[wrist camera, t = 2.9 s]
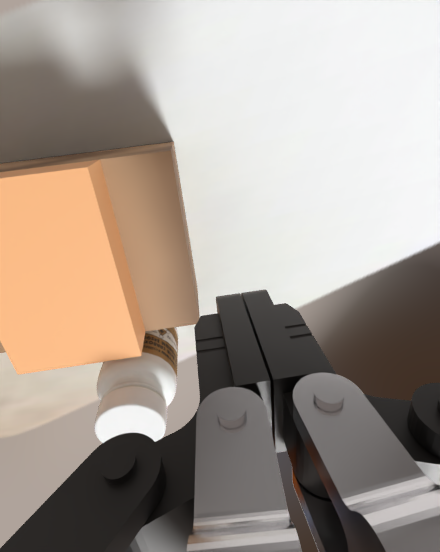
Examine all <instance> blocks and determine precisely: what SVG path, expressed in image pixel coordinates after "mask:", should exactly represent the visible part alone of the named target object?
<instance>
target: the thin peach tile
mask: <svg viewBox="0 0 440 552" xmlns="http://www.w3.org/2000/svg"><path fill="white" fill-rule="evenodd" d="M144 337H145V328H144V324H143V320H142V317H141V313H140V309H139V305H138V301H137V298H136V294H135V290H134V286H133V283H132V279H131V275H130V271H129V268H128V264H127V260H126V256H125V252H124V249H123V245H122V241H121V237H120V234H119V230H118V226H117V222H116V219H115V215H114V211H113V207H112V204H111V200H110V196H109V192H108V188H107V185H106V181H105V177H104V173H103V170H102V166H101V162H100V160H92V161H84V162H76V163H69V164H61V165H53V166H45V167H37V168H29V169H21V170H14V171H6V172H0V342H1V343H2V345H3V347H4V349H5V351H6V353H7V355H8V357H9V359H10V360H11V362H12V364H13V366H14V368H15V370H16V372H17V374H25V373H31V372H38V371H45V370H51V369H58V368H65V367H71V366H78V365H85V364H91V363H98V362H105V361H111V360H118V359H125V358H131V357H138V356H141V355H142V349H143V343H144Z"/></svg>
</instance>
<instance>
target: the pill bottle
mask: <svg viewBox="0 0 440 552" xmlns="http://www.w3.org/2000/svg"><path fill="white" fill-rule="evenodd" d="M177 352H178V333H177V328H176V327H173V328H166V329H159V330H152V331H145V337H144V343H143V349H142V355H141V356H138V357H131V358H125V359H118V360H111V361H105V362H103V365H102V367H101V370H100V373H99V377H98V381H97V394H98V397H99V399H100V401H101V402H100V405H99V408H98V412H97V416H96V420H95V428H94V429H95V433H96V436H97V437H98V439H99V440H100V441H101V442H102V443H104V442H105V441H107V440H109V439H111V438H112V437H115V436H117V435H120V434H124V433H141V434H144V435H147V436H149V437H150V438H151V439H153V440H154V442H156V441H158V440H160V439H161V438H162V437H163V435H164V433H165V430H166V422H167V406H168V405H169V404H170V403H171V401H172V400H173V398H174V396H175V392H176V386H177V385H176V384H177Z"/></svg>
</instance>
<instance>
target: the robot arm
mask: <svg viewBox="0 0 440 552" xmlns="http://www.w3.org/2000/svg"><path fill="white" fill-rule="evenodd" d="M216 304H217V312H218V314H211V315H205V316H201V317H200V318H199V320H198V322H197V324H196V326H195V340H196V352H197V364H198V377H199V389H200V403H199V407H198V409H197V412H196V413H195V415H194V417H193V418H192V419H191V420H190V421H189V422H188V423H187V424H186V425H185V426H184V427H182V428H181V429H180V430H178V431H176V432H174V433H172V434H170V435H168V436H166V437H164V438H162V439H160V440H158V441H156V442H154V440H153V439H151V438H150V437H149V436H147V435H144V434H141V433H124V434H120V435H117V436H115V437H112V438H111V439H109V440H107V441H105V442H104V443H103V444H101V445H100V446H99V447H98V448H97V449H96V450H94V451H93V452H92V453H91V455H90V456H89V457H88V458H87V459H86V460H85V461H84V462H83V463H82V464H81V465H80V466H79V467H78V468H77V469H76V470H75V471H74V472H73V473H72V474H71V475H70V477H69V478H67V480H66V481H65V482H64V483H63V484H62V485H61V486H60V487H59V488H58V489H57V490H56V491H55V492H54V493H53V494H52V495H51V496H50V497H49V498H48V499H47V501H45V503H43V505H42V506H41V507H40V508H39V509H38V510H37V511H36V512H35V513H34V514H33V515H32V516H31V517H30V518H29V519H28V520H27V521H26V522H25V524H23V525H22V526H21V527H20V528H19V530H18V531H17V532H16V533H15V534H14V535H13V536H12V537H11V538H10V539H9V540H8V541H7V542H6V543H5V544H4V545H3V546H2V547H1V548H0V552H302V550H301V546H300V543H299V538H298V535H297V531H296V528H295V526H294V524H293V523H292V522H291V520H290V517H289V513H288V509H287V504H286V499H285V495H284V490H283V485H282V480H281V475H280V471H279V466H278V460H277V456H276V453H278V452H284V451H287V452H288V455H289V458H290V461H291V464H292V481H293V486H294V489H295V491H296V494H297V497H298V499H299V502H300V504H301V507H302V509H303V512H304V515H305V517H306V520H307V522H308V525H309V527H310V530H311V533H312V535H313V538H314V540H315V543H316V545H317V548H318V551H319V552H440V383H430V384H425V385H423V386H421V387H419V388H418V389H416V391H415V392H414V394H413V396H412V400H411V401H408V400H398V399H388V398H379V397H373V396H369V395H366V394H363V393H362V391H361V390H360V389H359V388H358V387H357V386H356V385H355V384H354V383H353V382H351V381H350V380H348V379H346V378H344V377H342V376H339V375H337V374H336V373H335V371H334V370H333V368H332V367H331V365H330V363H329V361H328V360H327V358H326V356H325V355H324V353H323V351H322V350H321V348H320V346H319V345H318V343H317V341H316V340H315V338H314V336H312V333H311V331H310V330H309V328H308V327H307V326H306V323H305V322H304V320H303V318H302V316H301V315H300V313H299V312H298V311H297V310H295V309H294V308H292V307H291V306H289V305H288V304H286V303H285V304H278V305H274V304H273V302H272V300H271V298H270V296H269V294H268V292H267V290H259V291H252V292H245V293H241V294H240V293H239V294H232V295H225V296H218V297H216Z"/></svg>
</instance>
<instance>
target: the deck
mask: <svg viewBox="0 0 440 552" xmlns="http://www.w3.org/2000/svg"><path fill="white" fill-rule="evenodd" d="M92 160H100V162H101V166H102V170H103V173H104V177H105V181H106V185H107V188H108V192H109V196H110V200H111V204H112V207H113V211H114V215H115V219H116V222H117V226H118V230H119V234H120V237H121V241H122V245H123V249H124V252H125V256H126V260H127V264H128V268H129V271H130V275H131V279H132V283H133V286H134V290H135V294H136V298H137V301H138V305H139V309H140V313H141V317H142V320H143V324H144V328H145V331H152V330H159V329H166V328H173V327H179V326H186V325H193V324H197V322H198V320H199V305H198V291H197V283H196V277H195V271H194V265H193V259H192V253H191V246H190V240H189V234H188V228H187V222H186V216H185V209H184V203H183V197H182V191H181V185H180V178H179V172H178V166H177V160H176V154H175V148H174V142H167V143H159V144H152V145H144V146H136V147H128V148H120V149H112V150H104V151H96V152H88V153H80V154H72V155H64V156H57V157H49V158H41V159H33V160H25V161H17V162H9V163H1V164H0V172H6V171H14V170H21V169H29V168H37V167H45V166H53V165H61V164H69V163H76V162H84V161H92ZM3 352H6V351H5V349H4V347H3V345H2V343H1V342H0V353H3Z"/></svg>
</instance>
